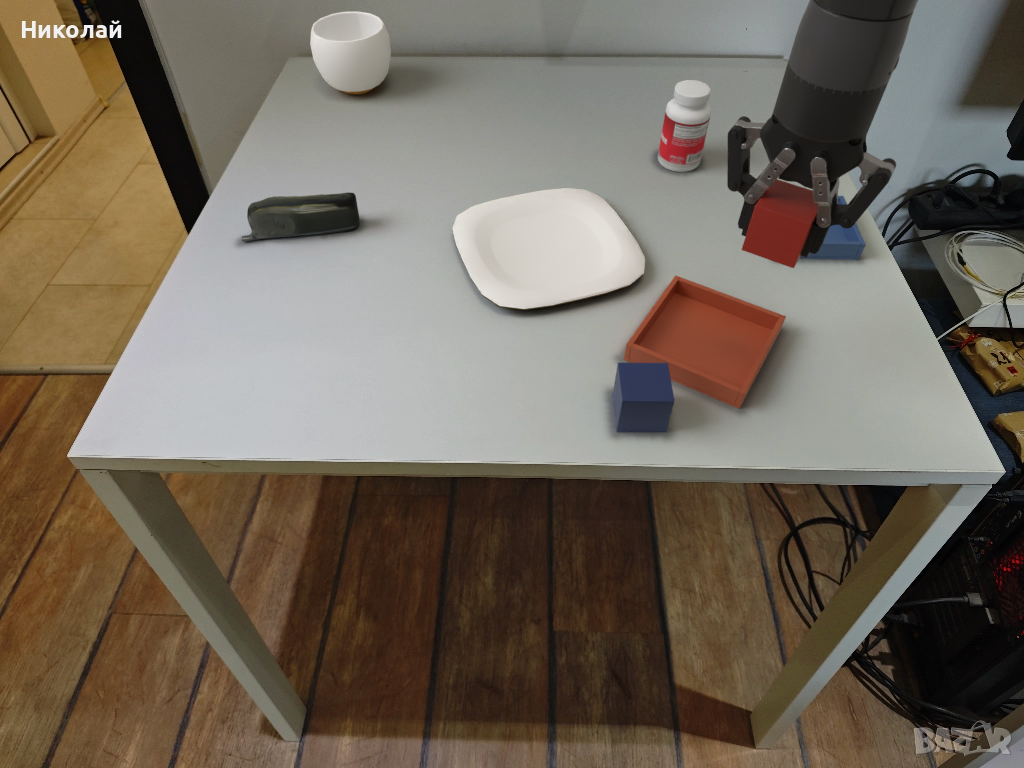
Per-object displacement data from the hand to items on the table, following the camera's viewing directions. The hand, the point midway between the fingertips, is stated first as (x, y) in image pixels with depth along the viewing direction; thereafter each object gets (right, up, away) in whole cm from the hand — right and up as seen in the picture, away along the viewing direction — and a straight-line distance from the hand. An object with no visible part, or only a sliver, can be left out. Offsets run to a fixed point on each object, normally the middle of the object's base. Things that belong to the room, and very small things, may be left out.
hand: (777, 241), depth 68 cm
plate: (-21, +3, +23) cm, 31 cm away
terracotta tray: (-4, -9, +13) cm, 16 cm away
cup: (-50, +36, +52) cm, 80 cm away
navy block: (-12, -16, +6) cm, 21 cm away
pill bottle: (-1, +19, +37) cm, 41 cm away
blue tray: (+13, +6, +26) cm, 30 cm away
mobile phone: (-52, +6, +26) cm, 59 cm away
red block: (0, 0, 0) cm, 0 cm away
